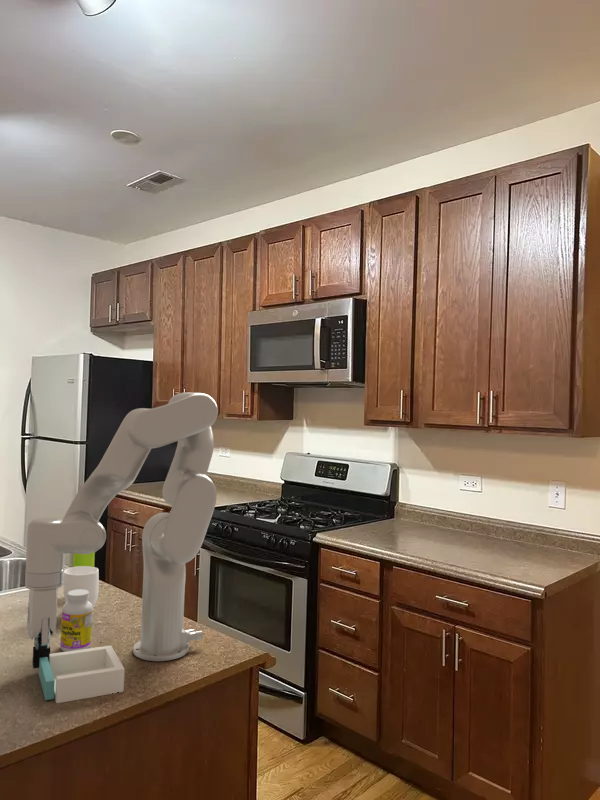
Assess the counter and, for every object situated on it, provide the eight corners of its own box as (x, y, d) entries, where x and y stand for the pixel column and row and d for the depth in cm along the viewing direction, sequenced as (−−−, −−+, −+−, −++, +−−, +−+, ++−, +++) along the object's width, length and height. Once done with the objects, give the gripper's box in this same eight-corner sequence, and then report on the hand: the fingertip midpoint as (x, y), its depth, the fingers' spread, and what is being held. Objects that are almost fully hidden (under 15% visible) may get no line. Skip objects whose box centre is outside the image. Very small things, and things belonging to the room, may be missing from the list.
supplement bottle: (53, 651, 143) (56, 594, 143) (71, 641, 149) (73, 586, 149) (80, 655, 141) (82, 598, 141) (96, 644, 147) (98, 589, 147)
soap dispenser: (87, 590, 188) (90, 523, 188) (96, 596, 183) (99, 527, 183) (67, 593, 185) (70, 525, 185) (75, 599, 179) (79, 529, 179)
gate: (46, 673, 130) (47, 656, 130) (53, 698, 120) (54, 680, 120) (38, 674, 130) (39, 657, 130) (45, 700, 119) (46, 681, 119)
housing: (110, 666, 136) (111, 645, 136) (123, 691, 124) (124, 668, 124) (48, 675, 130) (49, 653, 130) (56, 703, 119) (57, 679, 119)
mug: (99, 618, 164) (99, 573, 164) (62, 622, 161) (63, 575, 161) (97, 604, 175) (97, 561, 175) (63, 607, 172) (63, 564, 172)
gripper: (22, 570, 137) (19, 655, 137) (28, 590, 123) (23, 683, 123) (59, 567, 140) (56, 650, 140) (68, 586, 127) (64, 677, 127)
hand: (41, 665), depth 132 cm, fingers closed
